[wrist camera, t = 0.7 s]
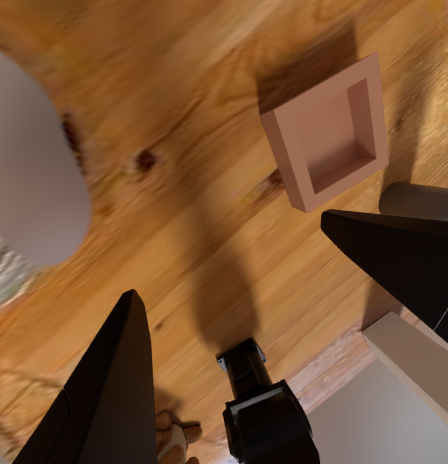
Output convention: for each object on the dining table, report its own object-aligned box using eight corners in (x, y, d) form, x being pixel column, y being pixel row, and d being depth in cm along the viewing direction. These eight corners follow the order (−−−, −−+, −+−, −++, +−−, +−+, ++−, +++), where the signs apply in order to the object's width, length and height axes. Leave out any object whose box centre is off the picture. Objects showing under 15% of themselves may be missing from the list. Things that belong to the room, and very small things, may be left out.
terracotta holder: (365, 163, 26) (389, 164, 23) (292, 206, 25) (307, 213, 23) (351, 63, 21) (378, 50, 18) (259, 115, 21) (273, 109, 18)
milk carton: (360, 331, 39) (509, 471, 22) (390, 309, 39) (564, 433, 22) (369, 348, 42) (505, 483, 25) (396, 328, 42) (553, 449, 25)
